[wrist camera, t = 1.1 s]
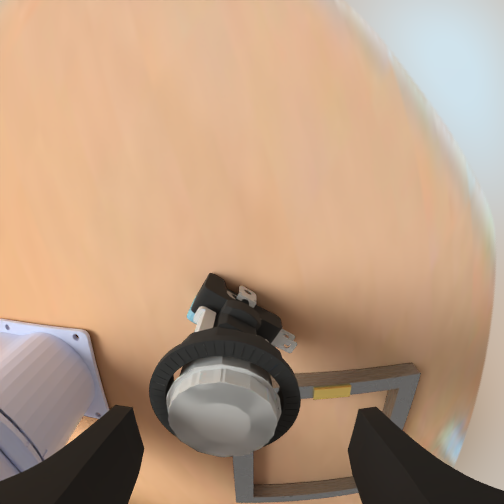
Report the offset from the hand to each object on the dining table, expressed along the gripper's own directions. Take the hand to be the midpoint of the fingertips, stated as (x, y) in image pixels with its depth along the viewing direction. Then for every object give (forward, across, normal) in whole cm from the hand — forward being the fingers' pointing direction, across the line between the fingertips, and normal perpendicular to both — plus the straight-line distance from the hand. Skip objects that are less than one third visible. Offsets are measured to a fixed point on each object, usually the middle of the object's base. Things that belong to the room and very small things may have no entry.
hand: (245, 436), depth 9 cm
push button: (+11, 0, 0) cm, 11 cm away
